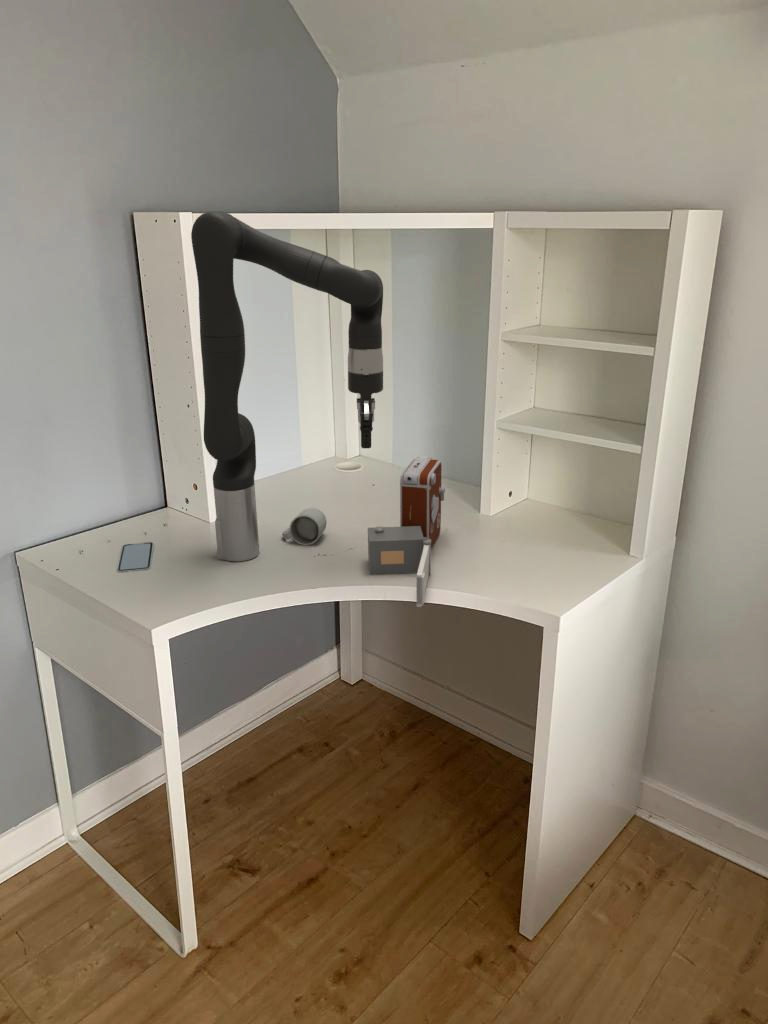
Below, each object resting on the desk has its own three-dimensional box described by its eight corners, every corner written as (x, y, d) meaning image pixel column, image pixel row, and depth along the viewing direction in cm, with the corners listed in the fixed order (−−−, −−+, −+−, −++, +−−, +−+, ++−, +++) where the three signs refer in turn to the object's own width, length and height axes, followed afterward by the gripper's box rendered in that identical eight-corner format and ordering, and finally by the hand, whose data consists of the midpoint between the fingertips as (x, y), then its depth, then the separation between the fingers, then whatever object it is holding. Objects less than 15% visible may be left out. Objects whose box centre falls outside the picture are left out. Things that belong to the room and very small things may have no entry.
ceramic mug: (328, 533, 198) (327, 504, 195) (320, 546, 190) (318, 516, 187) (288, 532, 200) (285, 503, 197) (278, 544, 192) (275, 514, 189)
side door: (423, 607, 160) (423, 574, 157) (415, 606, 160) (415, 574, 157) (431, 572, 175) (431, 542, 173) (423, 571, 175) (423, 541, 173)
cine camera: (449, 526, 201) (451, 450, 194) (433, 557, 184) (434, 475, 176) (414, 523, 203) (414, 448, 196) (395, 553, 186) (394, 472, 179)
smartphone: (116, 571, 177) (122, 544, 191) (116, 575, 178) (123, 548, 191) (150, 568, 179) (154, 541, 192) (150, 572, 179) (154, 545, 193)
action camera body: (370, 578, 173) (369, 541, 170) (368, 559, 182) (367, 524, 179) (432, 576, 174) (432, 539, 171) (427, 557, 183) (427, 522, 180)
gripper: (347, 363, 174) (348, 439, 180) (348, 375, 162) (349, 456, 168) (381, 362, 174) (381, 439, 181) (384, 374, 162) (384, 456, 168)
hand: (366, 447), depth 174 cm, fingers closed
